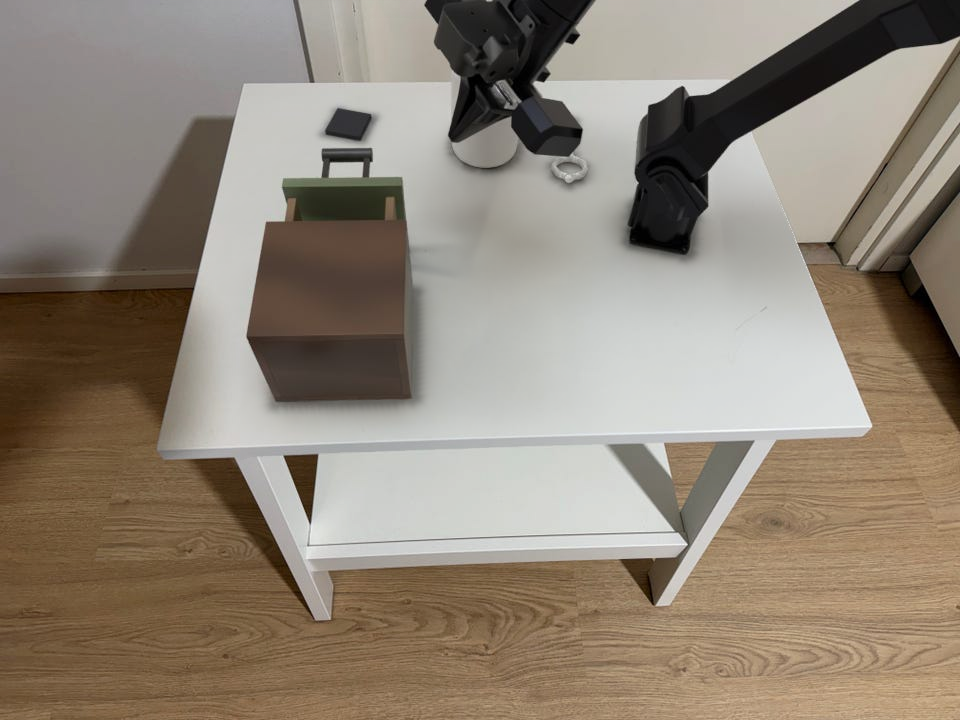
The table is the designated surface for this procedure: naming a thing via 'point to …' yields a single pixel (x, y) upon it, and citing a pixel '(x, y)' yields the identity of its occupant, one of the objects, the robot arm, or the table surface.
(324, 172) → the drawer
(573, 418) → the table surface
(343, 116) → the pad
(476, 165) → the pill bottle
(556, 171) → the key
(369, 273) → the cabinet
